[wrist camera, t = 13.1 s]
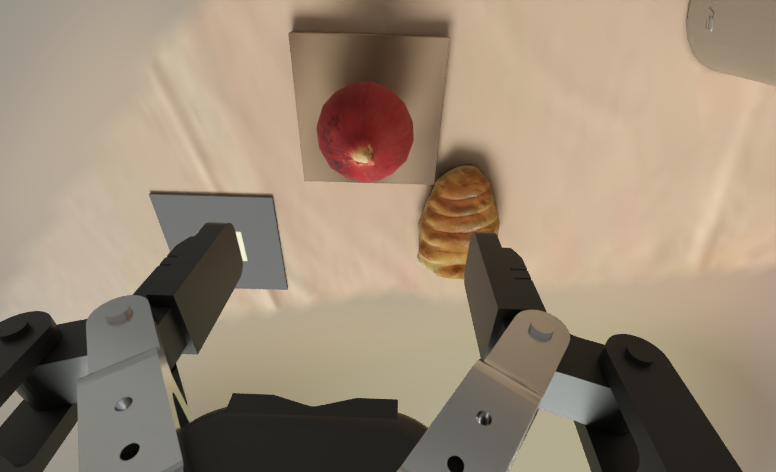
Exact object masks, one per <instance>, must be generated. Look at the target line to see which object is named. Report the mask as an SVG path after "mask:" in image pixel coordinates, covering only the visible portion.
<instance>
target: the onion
mask: <svg viewBox="0 0 776 472" xmlns="http://www.w3.org/2000/svg"><path fill="white" fill-rule="evenodd" d="M316 129H317V137H318V145H319V149H320V151H321V152H322V154H323V156H324V158H325V159H326V161H327V163H328V164H329V166H330V168H331V169H333V170H335V171H336V172H338V173H339V174H341V175H342V176H344V177H345V178H348V179H352V180H356V181H360V182H372V181H379V180H381V179H383V178H385V177H388V176H390V175H392V174H393V173H394V172H395V171H396V170H397V169H398V168H399V167H400V166H401V165H402V164H403V163H405V162H406V161H407V158H408V155H409V152H410V150H411V147H412V144H413V141H414V133H413V121H412V119H411V116H410V114H409V112H408V109H407V107H406V105H405V103H404V102H403V101H402V100H401V99H400V98H399V97H398V96H397V95H396V94H395V93H394V92H393V91H392V90H391V89H388V88H386V87H384V86H381V85H379V84H377V83H374V82H359V83H351V84H349V85H347V86H345V87H343V88H341V89H340V90H338V91H336V92H335V93H334V94H333V95H332V96H331V97H330V98H329V99H328V100H327V101H326V102H325V104H324V105H323V107H322V110H321V113H320V116H319V120H318V123H317V127H316Z"/></svg>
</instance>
